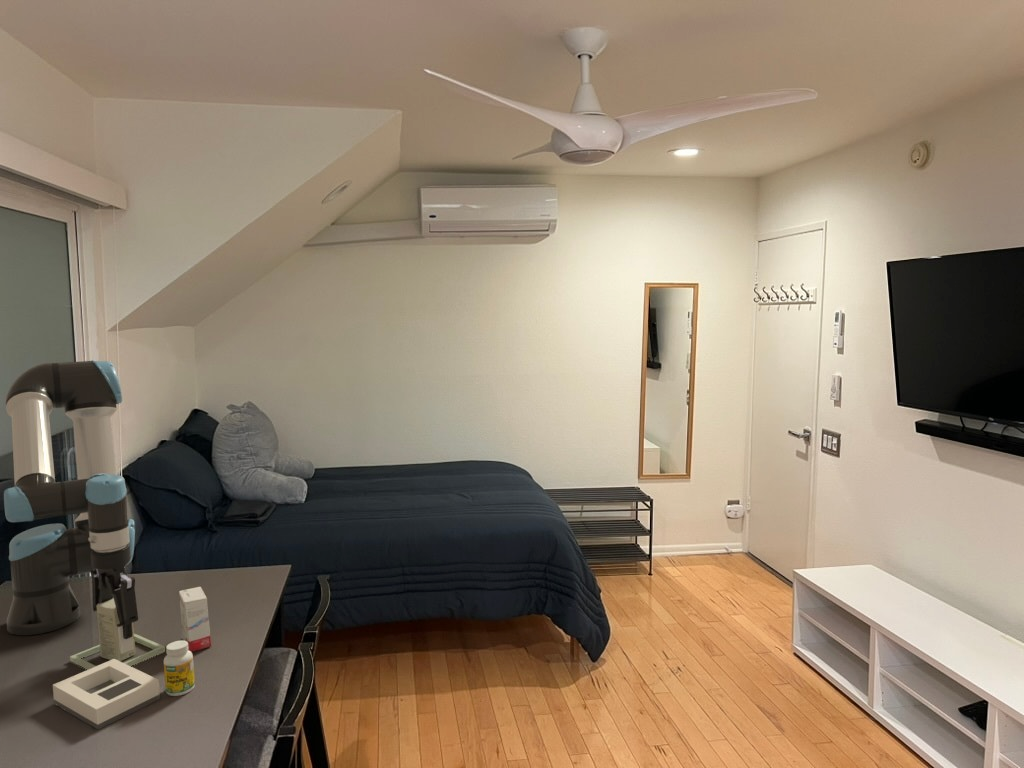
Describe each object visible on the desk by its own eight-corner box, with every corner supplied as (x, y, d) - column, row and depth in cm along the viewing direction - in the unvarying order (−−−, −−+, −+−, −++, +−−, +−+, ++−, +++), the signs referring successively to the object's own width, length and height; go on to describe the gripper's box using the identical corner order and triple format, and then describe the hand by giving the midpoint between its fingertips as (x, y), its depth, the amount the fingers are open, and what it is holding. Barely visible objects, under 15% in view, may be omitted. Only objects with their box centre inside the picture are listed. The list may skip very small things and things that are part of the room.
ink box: (211, 647, 162) (208, 598, 160) (187, 653, 159) (184, 603, 157) (204, 632, 169) (201, 585, 167) (181, 638, 166) (178, 590, 165)
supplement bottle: (197, 681, 147) (194, 637, 146) (191, 695, 142) (189, 649, 141) (169, 684, 146) (166, 640, 145) (162, 698, 141) (159, 652, 140)
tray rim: (70, 661, 156) (69, 656, 155) (131, 636, 167) (130, 631, 167) (103, 678, 148) (103, 673, 148) (165, 651, 160) (164, 646, 160)
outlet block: (54, 704, 139) (52, 684, 139) (115, 676, 149) (114, 658, 149) (98, 729, 131) (96, 709, 130) (159, 698, 141) (158, 679, 140)
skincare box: (136, 654, 158) (133, 602, 157) (118, 663, 155) (114, 610, 153) (117, 647, 161) (114, 596, 160) (99, 656, 157) (95, 604, 156)
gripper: (69, 543, 157) (77, 642, 160) (117, 560, 146) (125, 666, 149) (103, 534, 163) (110, 629, 166) (152, 549, 153) (159, 651, 156)
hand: (117, 646), depth 158 cm, fingers closed on skincare box, 6 cm apart
